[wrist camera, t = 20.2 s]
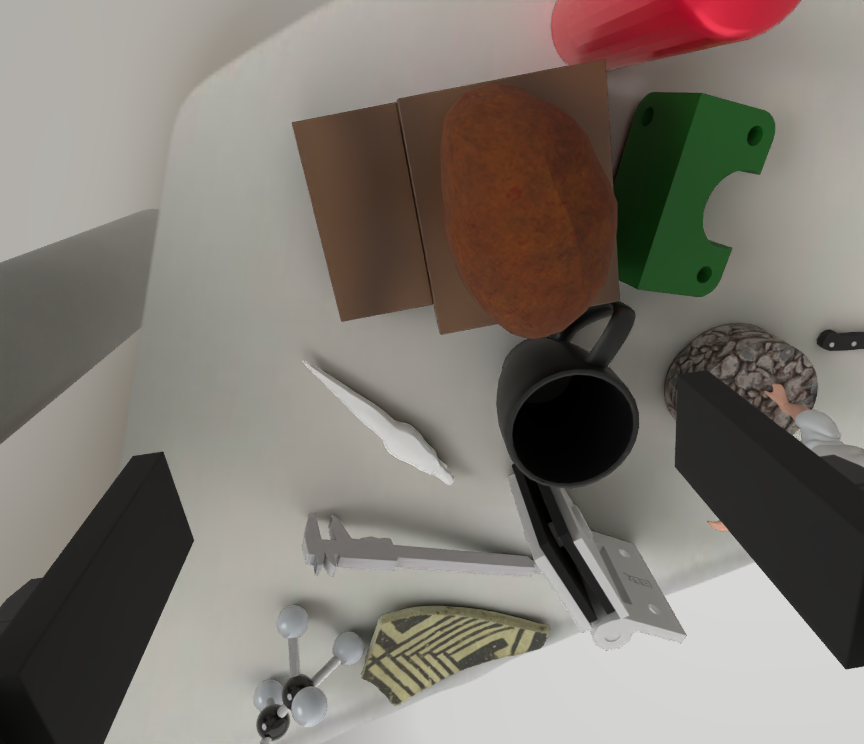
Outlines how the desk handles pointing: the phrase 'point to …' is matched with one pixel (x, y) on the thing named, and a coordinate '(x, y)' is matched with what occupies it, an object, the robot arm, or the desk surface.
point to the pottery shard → (441, 645)
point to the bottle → (657, 27)
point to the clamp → (681, 187)
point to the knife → (841, 341)
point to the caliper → (400, 555)
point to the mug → (568, 404)
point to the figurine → (763, 384)
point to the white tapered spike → (389, 429)
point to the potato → (525, 209)
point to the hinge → (591, 569)
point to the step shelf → (418, 195)
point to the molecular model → (299, 680)
